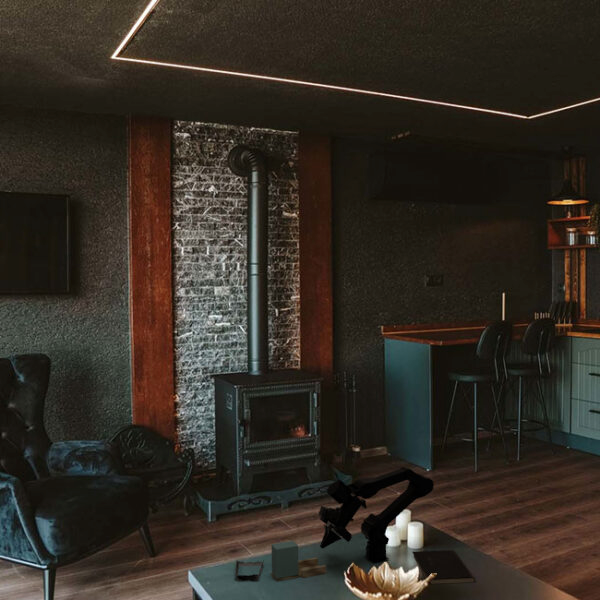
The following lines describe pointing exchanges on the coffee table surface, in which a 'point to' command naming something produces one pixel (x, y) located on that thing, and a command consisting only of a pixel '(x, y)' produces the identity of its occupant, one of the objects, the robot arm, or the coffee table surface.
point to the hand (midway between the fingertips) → (321, 547)
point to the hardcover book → (443, 566)
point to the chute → (307, 569)
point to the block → (285, 559)
